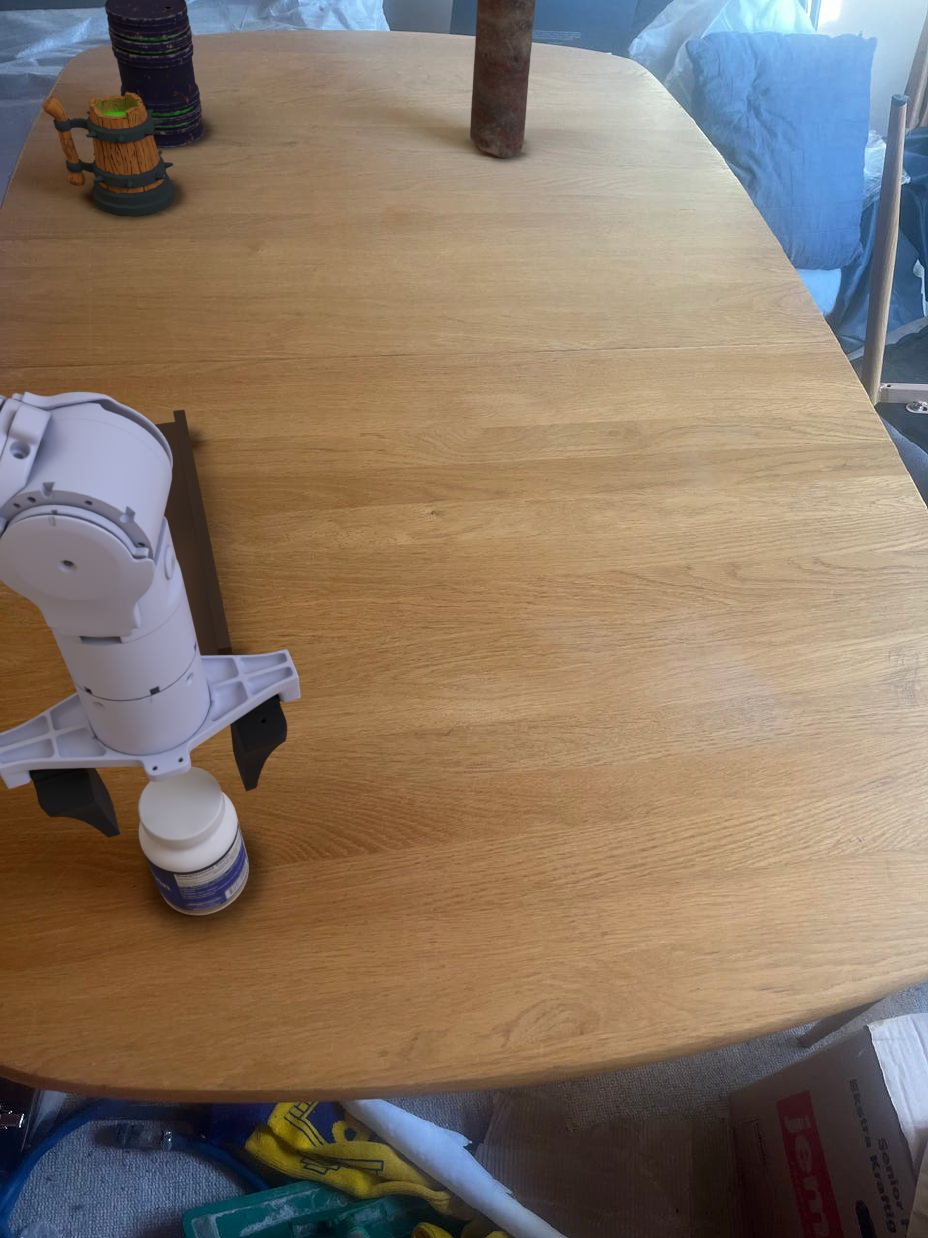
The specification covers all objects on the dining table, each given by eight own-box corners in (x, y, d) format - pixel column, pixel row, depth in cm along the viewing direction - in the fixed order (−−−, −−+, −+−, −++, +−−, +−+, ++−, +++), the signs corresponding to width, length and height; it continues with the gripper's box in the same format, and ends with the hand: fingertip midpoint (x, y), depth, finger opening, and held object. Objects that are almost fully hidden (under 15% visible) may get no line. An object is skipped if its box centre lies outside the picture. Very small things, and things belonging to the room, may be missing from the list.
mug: (176, 174, 120) (160, 75, 111) (180, 215, 114) (163, 114, 105) (67, 178, 118) (41, 78, 109) (64, 220, 112) (37, 117, 103)
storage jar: (114, 139, 125) (88, 11, 114) (147, 109, 131) (125, -16, 120) (187, 152, 124) (167, 24, 113) (216, 121, 130) (200, -4, 119)
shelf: (112, 697, 70) (102, 671, 68) (88, 450, 87) (79, 422, 84) (236, 672, 72) (231, 646, 70) (189, 436, 89) (184, 409, 87)
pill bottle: (150, 852, 63) (119, 774, 55) (237, 824, 64) (218, 744, 57) (170, 932, 59) (139, 861, 52) (260, 900, 61) (243, 826, 54)
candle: (459, 150, 130) (469, -20, 115) (479, 129, 134) (492, -37, 119) (511, 163, 128) (529, -7, 113) (530, 142, 133) (549, -24, 118)
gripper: (-27, 773, 39) (58, 908, 50) (313, 669, 44) (326, 813, 54) (-46, 646, 43) (36, 796, 54) (268, 563, 48) (287, 716, 58)
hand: (180, 797), depth 54 cm, fingers open, 7 cm apart
